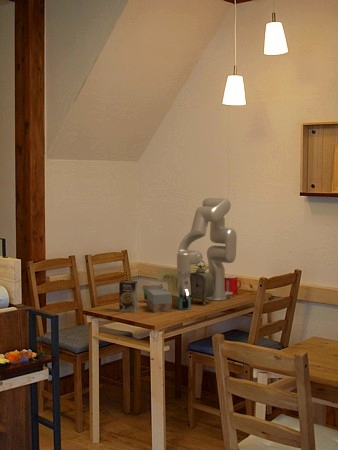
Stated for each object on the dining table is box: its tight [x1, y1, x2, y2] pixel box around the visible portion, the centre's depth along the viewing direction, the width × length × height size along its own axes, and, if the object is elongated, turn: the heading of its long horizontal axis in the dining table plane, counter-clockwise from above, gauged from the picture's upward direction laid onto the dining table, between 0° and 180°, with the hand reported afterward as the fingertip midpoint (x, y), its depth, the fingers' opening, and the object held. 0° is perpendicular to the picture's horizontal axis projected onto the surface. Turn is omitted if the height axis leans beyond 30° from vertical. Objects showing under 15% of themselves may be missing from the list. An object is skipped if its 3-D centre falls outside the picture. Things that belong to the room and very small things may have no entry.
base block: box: [146, 299, 173, 314], centre depth 363 cm, size 10×16×5 cm, turn 16°
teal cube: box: [176, 296, 192, 310], centre depth 365 cm, size 6×6×6 cm
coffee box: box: [118, 280, 138, 313], centre depth 358 cm, size 9×6×16 cm
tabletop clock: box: [189, 260, 214, 306], centre depth 378 cm, size 14×9×25 cm, turn 45°
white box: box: [147, 288, 173, 304], centre depth 362 cm, size 10×16×5 cm, turn 14°
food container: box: [141, 283, 164, 304], centre depth 381 cm, size 12×6×10 cm, turn 112°
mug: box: [225, 275, 242, 296], centre depth 405 cm, size 12×8×11 cm
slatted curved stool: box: [156, 262, 209, 297], centre depth 404 cm, size 30×16×18 cm, turn 136°
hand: (183, 306), depth 366 cm, fingers closed on teal cube, 6 cm apart
